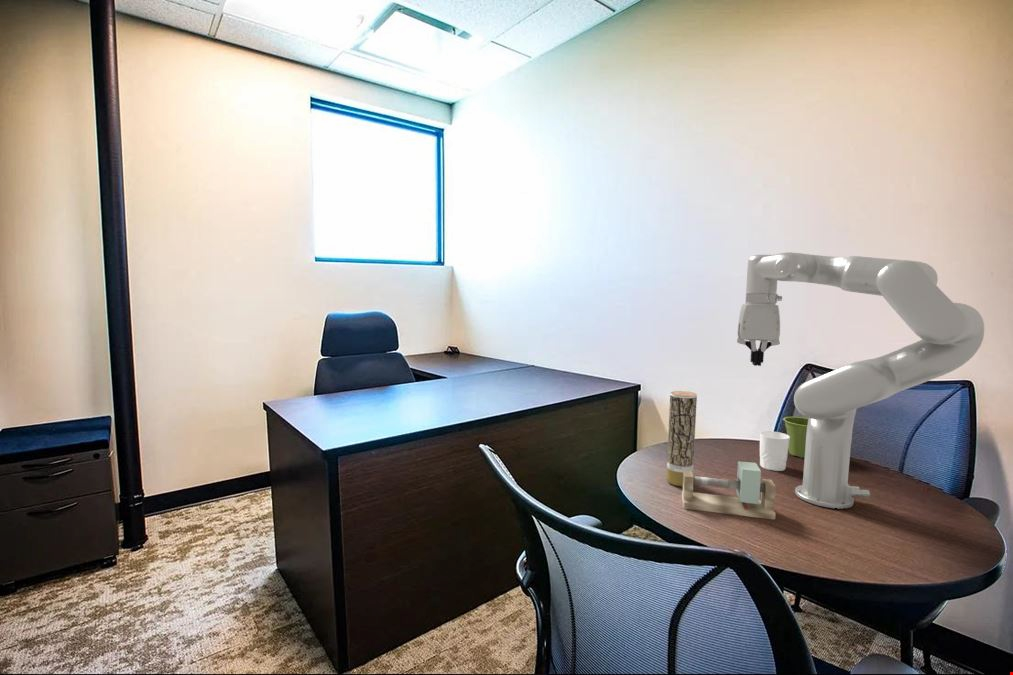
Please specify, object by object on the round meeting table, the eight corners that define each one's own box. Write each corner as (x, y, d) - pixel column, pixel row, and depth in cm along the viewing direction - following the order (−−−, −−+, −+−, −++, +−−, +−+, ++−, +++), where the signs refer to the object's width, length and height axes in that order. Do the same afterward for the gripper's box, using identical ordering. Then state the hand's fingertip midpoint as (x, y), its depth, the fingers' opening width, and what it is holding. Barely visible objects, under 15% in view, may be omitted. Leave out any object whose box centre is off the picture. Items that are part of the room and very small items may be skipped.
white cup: (788, 465, 148) (790, 433, 147) (786, 474, 141) (789, 440, 140) (759, 460, 152) (761, 429, 151) (756, 468, 146) (758, 435, 145)
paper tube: (688, 489, 130) (692, 397, 127) (662, 483, 134) (666, 393, 131) (695, 481, 135) (700, 393, 132) (671, 475, 139) (675, 389, 136)
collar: (753, 494, 120) (755, 463, 119) (758, 504, 114) (761, 471, 114) (736, 492, 121) (738, 461, 120) (740, 501, 115) (742, 469, 115)
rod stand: (767, 506, 120) (769, 477, 119) (775, 519, 113) (777, 488, 112) (681, 496, 125) (683, 468, 124) (683, 508, 118) (685, 478, 118)
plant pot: (832, 460, 154) (835, 425, 152) (800, 462, 151) (803, 427, 150) (802, 448, 165) (805, 415, 164) (772, 450, 163) (774, 417, 161)
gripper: (786, 300, 137) (782, 364, 139) (729, 299, 141) (725, 361, 143) (794, 300, 130) (790, 368, 132) (733, 299, 134) (730, 365, 136)
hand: (756, 364), depth 137 cm, fingers closed
